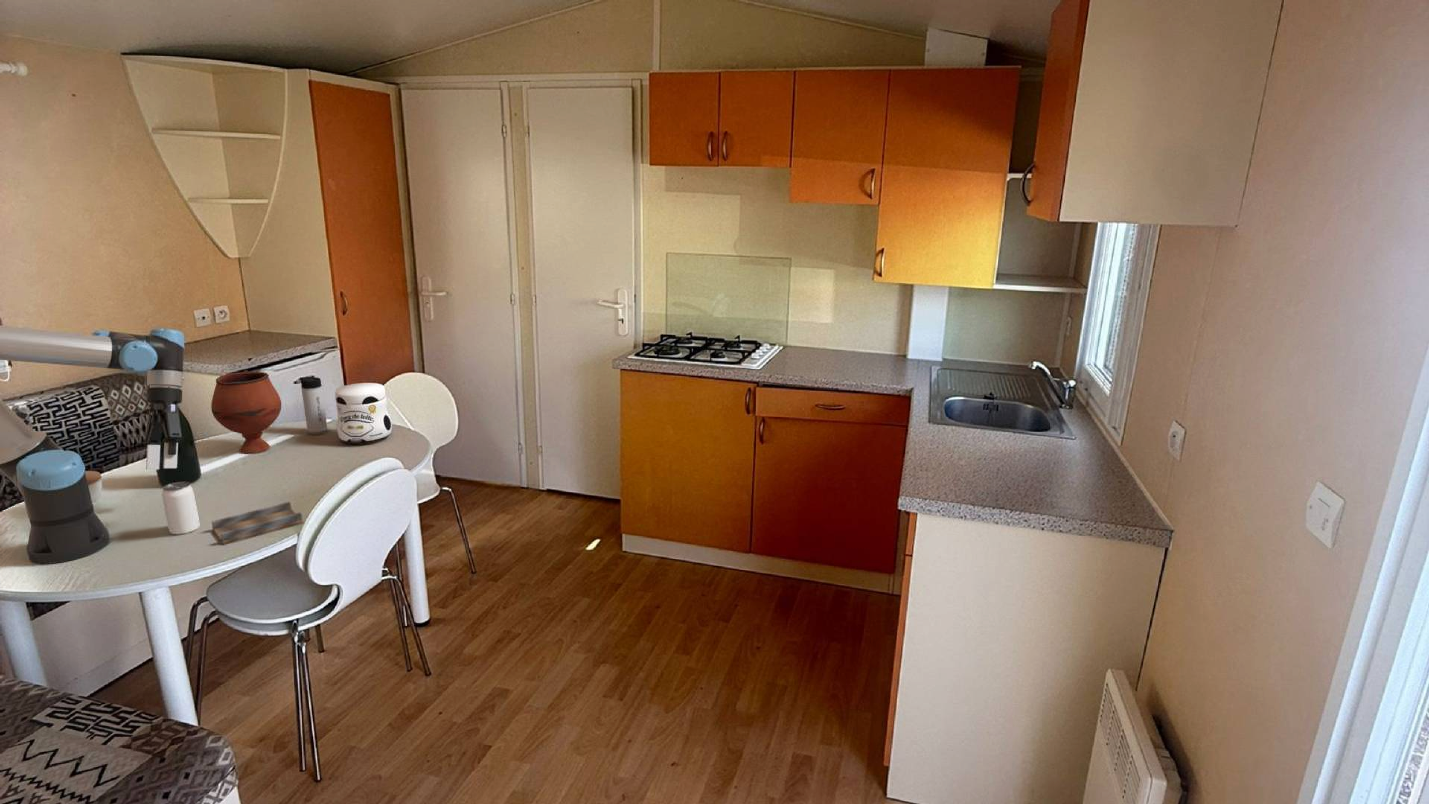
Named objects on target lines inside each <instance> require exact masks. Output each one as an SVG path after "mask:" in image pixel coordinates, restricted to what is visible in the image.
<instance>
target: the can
mask: <svg viewBox="0 0 1429 804" xmlns="http://www.w3.org/2000/svg"><path fill="white" fill-rule="evenodd" d="M161 497H162V502H163V503H162V504H163V506H164V512H165V517H166V521H167V526H168V531H169V533H171V534H172V535H174V536H175V535H176V536H177V535H178V536H179V535H180V536H181V535H186V534H190V533H194V532H195V531H197V530H198V529H199V528H200V526H201V524H200V523H201V522H200V519H199V512H198V508H197V502H196V498H195V492H194V488H193V487H192V486H191V483H189V482H176V483H171V484H168V485H166V486H163V487H162V493H161Z"/></svg>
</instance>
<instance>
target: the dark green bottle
mask: <svg viewBox="0 0 1429 804" xmlns="http://www.w3.org/2000/svg"><path fill="white" fill-rule="evenodd" d="M175 405H178V404H175ZM178 413H179V420H180V428H181V435H182V438H181V439H179V442H177V443H178V453H177V468H163V463H164V443H169V442H163V440H164V438H165V434H164V430H163V432H162V435H161V438H160V441H161V443H162V445H160V462H159V469H155V471H156V476H157V480H158V483H159V484H160V486H163V487H164V486H166V485H168V484H171V483H176V482H189V483H190V484H192V483H194V482H196V481H198V480H199V479H201V477H202V469H201V466H200V465H201V464H200V460H199V455H198V450H197V446H196V441H195V436H194V433H193V432H194V431H193V429H192V426H191V423H190V422H189V420H188V418H187V417H186V415H185V414H184V413H183V411H182V410H181V408H180V407H179V409H178Z"/></svg>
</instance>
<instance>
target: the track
mask: <svg viewBox="0 0 1429 804" xmlns="http://www.w3.org/2000/svg"><path fill="white" fill-rule="evenodd" d="M291 505H292V504H291V502H290V501H288V502H283V503H279V504H275V505H271V506H267V507H262V508H259V509H256V510H255V509H254V510H251V511H247V512H243V513H239V514H235V515H232V516H228V517H224V518H223V517H222V518H219V519H215V520H212V521H211V525H212V531H213V533H214V534H215V535H216V536H217V538H218V539H219V541H220V542H221V543H222V545H223V546H226V545H229V544H232V543H236V542H240V541H244V540H248V539H250V538H254V537H257V536H261V535H265V534H269V533H273V532H276V531H280V530H284V529H287V528H290V527H294V526H298V525H302V524H304V520H303V515H302V514H303V513H302V512H295V511H294V510H293V509H292V506H291Z"/></svg>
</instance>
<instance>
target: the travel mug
mask: <svg viewBox="0 0 1429 804" xmlns="http://www.w3.org/2000/svg"><path fill="white" fill-rule="evenodd" d="M298 381H300V386H301V387H300V388H301V393H302V394H301V395H302V401H303V407H304V415H305V423H306V429H307V434H309V435H312V436H317V435H319V436H320V435H323V434H326V433H327V432H328V430H329V428H328V421H327V416H326V415H327V414H326V408H325V399H324V392H323V391H324V390H323V388H322V387H323V386H322V379H321V378H319V377H316V376H303V377H299V378H298Z"/></svg>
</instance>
